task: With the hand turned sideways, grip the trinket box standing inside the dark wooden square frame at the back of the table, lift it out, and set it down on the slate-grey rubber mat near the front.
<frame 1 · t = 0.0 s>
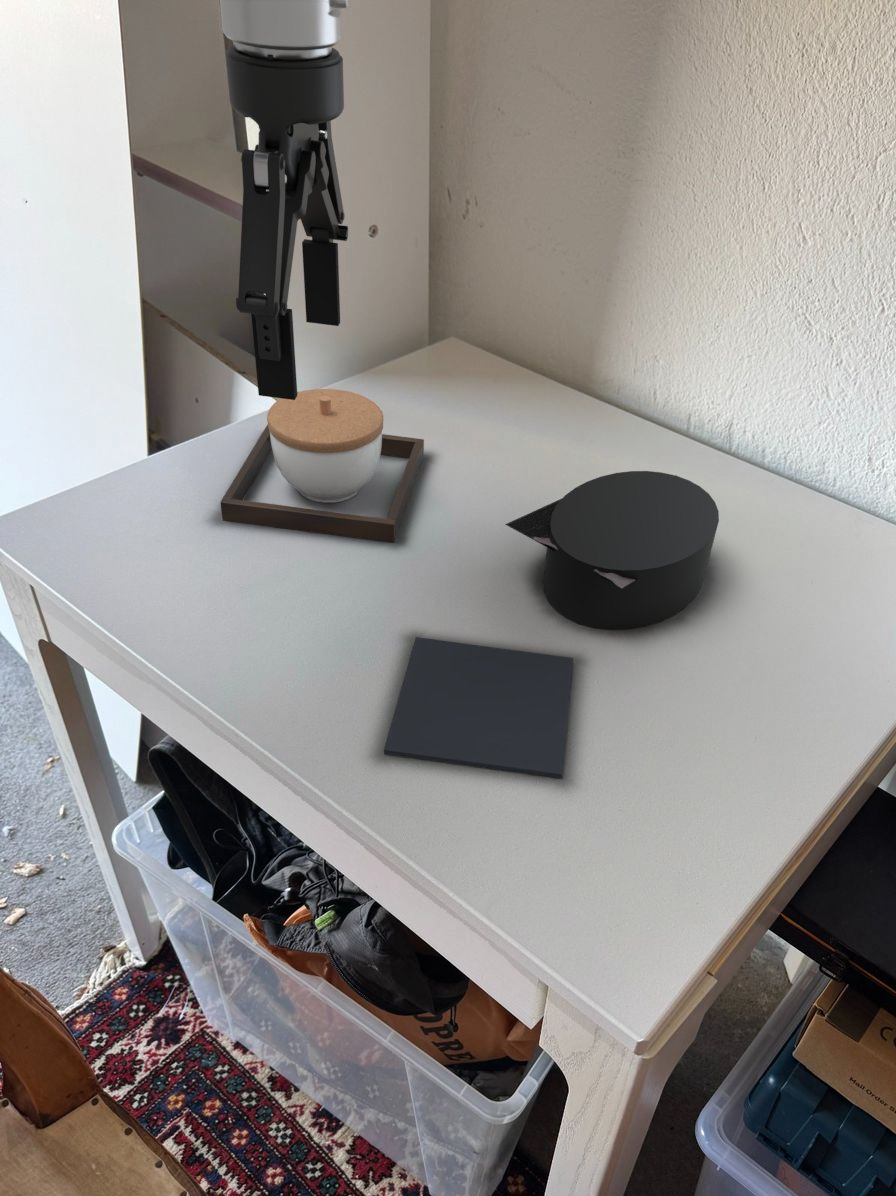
hand: (302, 357, 80), 18 cm above the table, tool pointing down, fingers open, 13 cm apart
dark wooden square frame: (328, 486, 99), on the table
tape dispenser: (619, 573, 93), on the table
trinket box: (329, 488, 100), resting in dark wooden square frame
mat: (483, 705, 78), on the table
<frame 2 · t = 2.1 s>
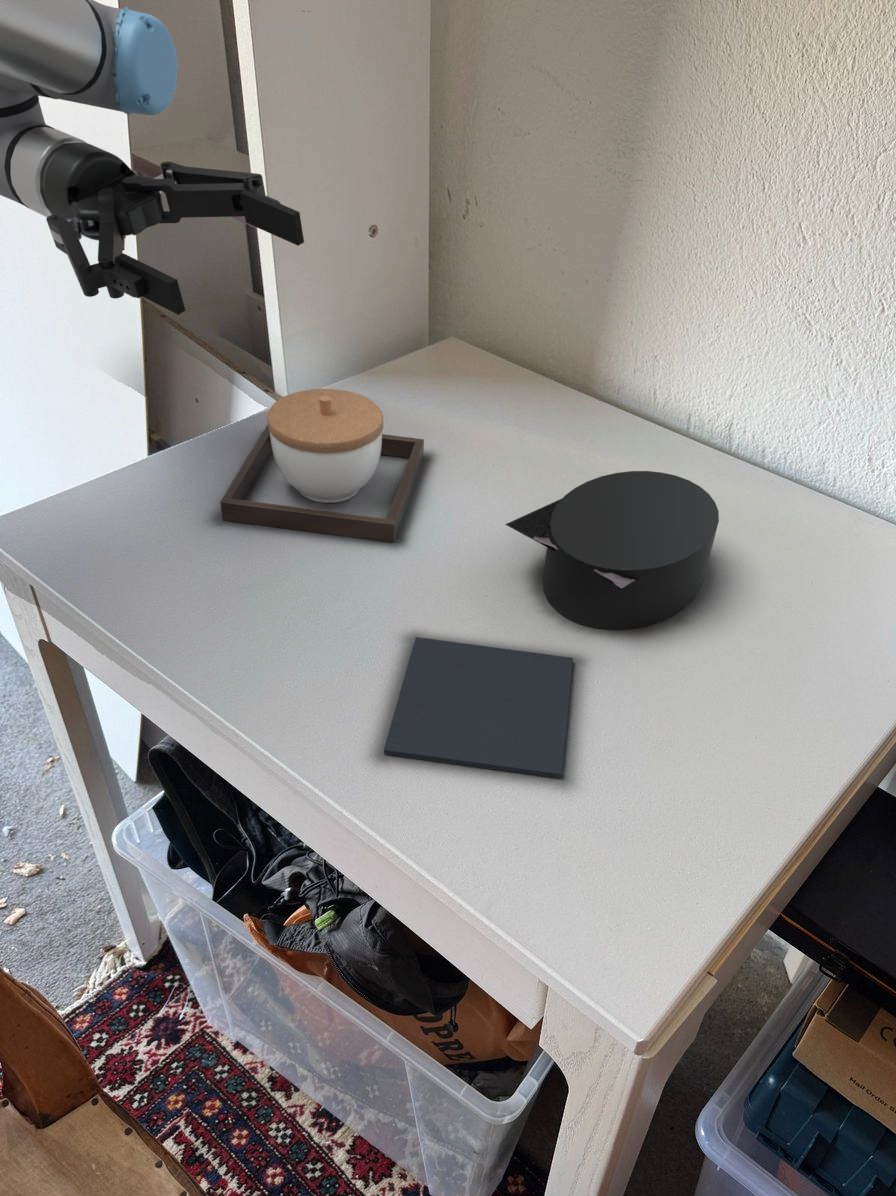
hand: (241, 262, 84), 22 cm above the table, tool horizontal, fingers open, 13 cm apart
nothing on the table moved.
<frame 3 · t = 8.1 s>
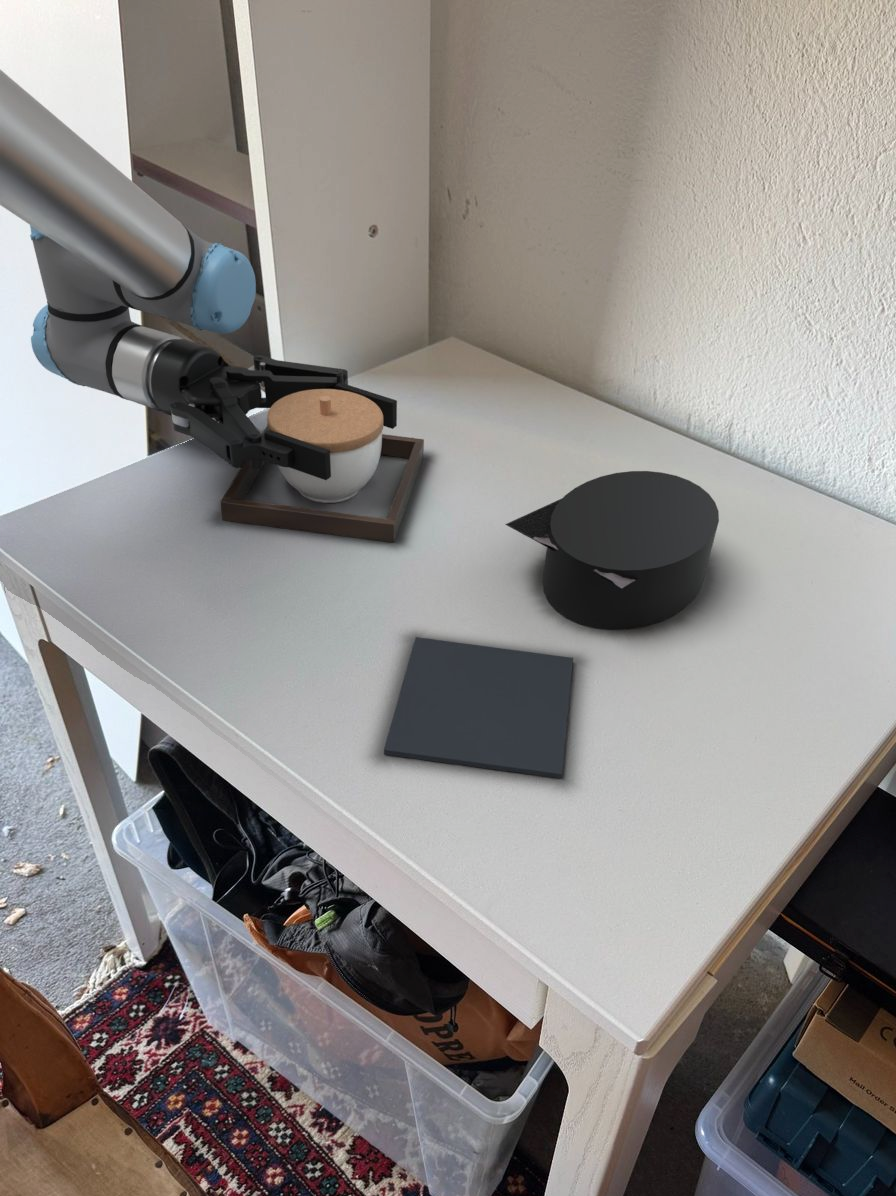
hand: (362, 439, 94), 6 cm above the table, tool horizontal, fingers closed on trinket box, 11 cm apart
trinket box: (328, 488, 100), resting in dark wooden square frame, touching gripper
everything else where it was.
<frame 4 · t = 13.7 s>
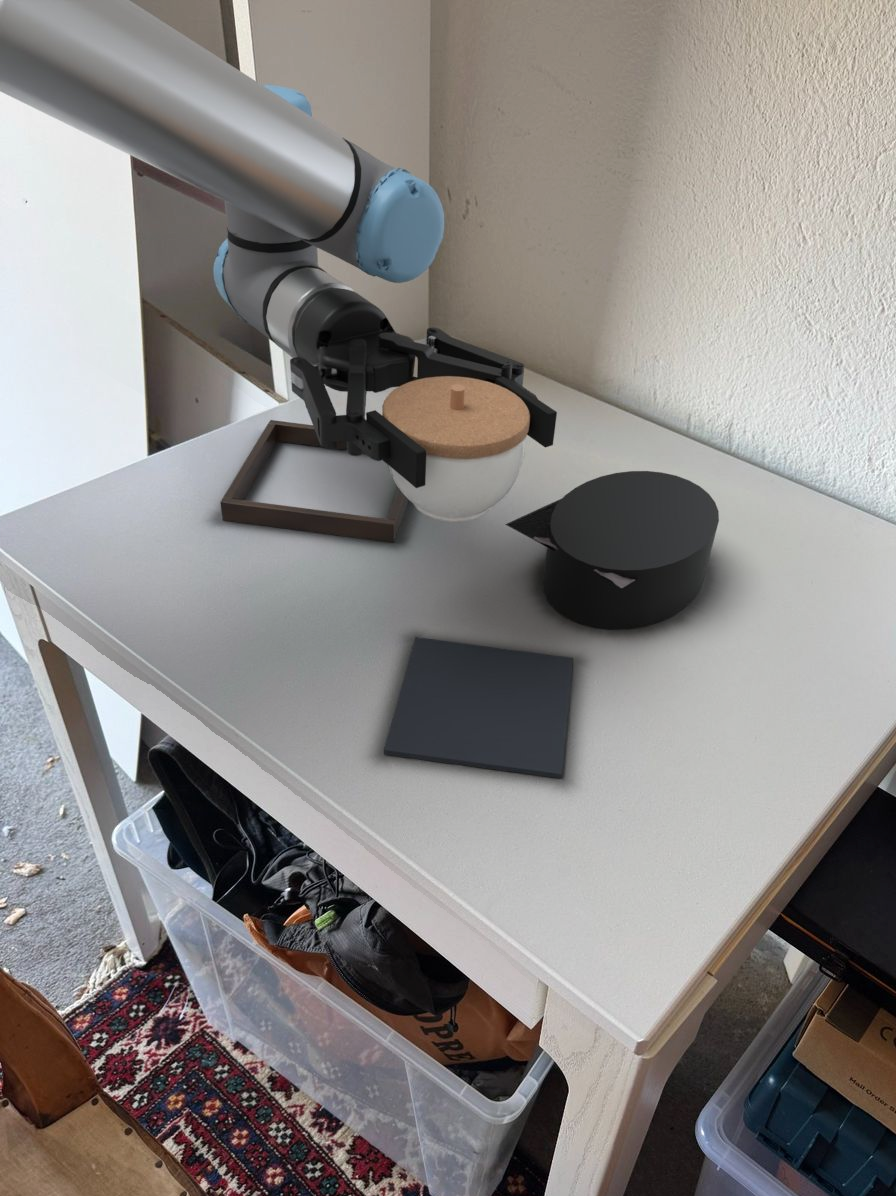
hand: (488, 449, 72), 18 cm above the table, tool horizontal, fingers closed on trinket box, 11 cm apart
trinket box: (451, 502, 78), point 11 cm above the table, touching gripper
everything else where it was.
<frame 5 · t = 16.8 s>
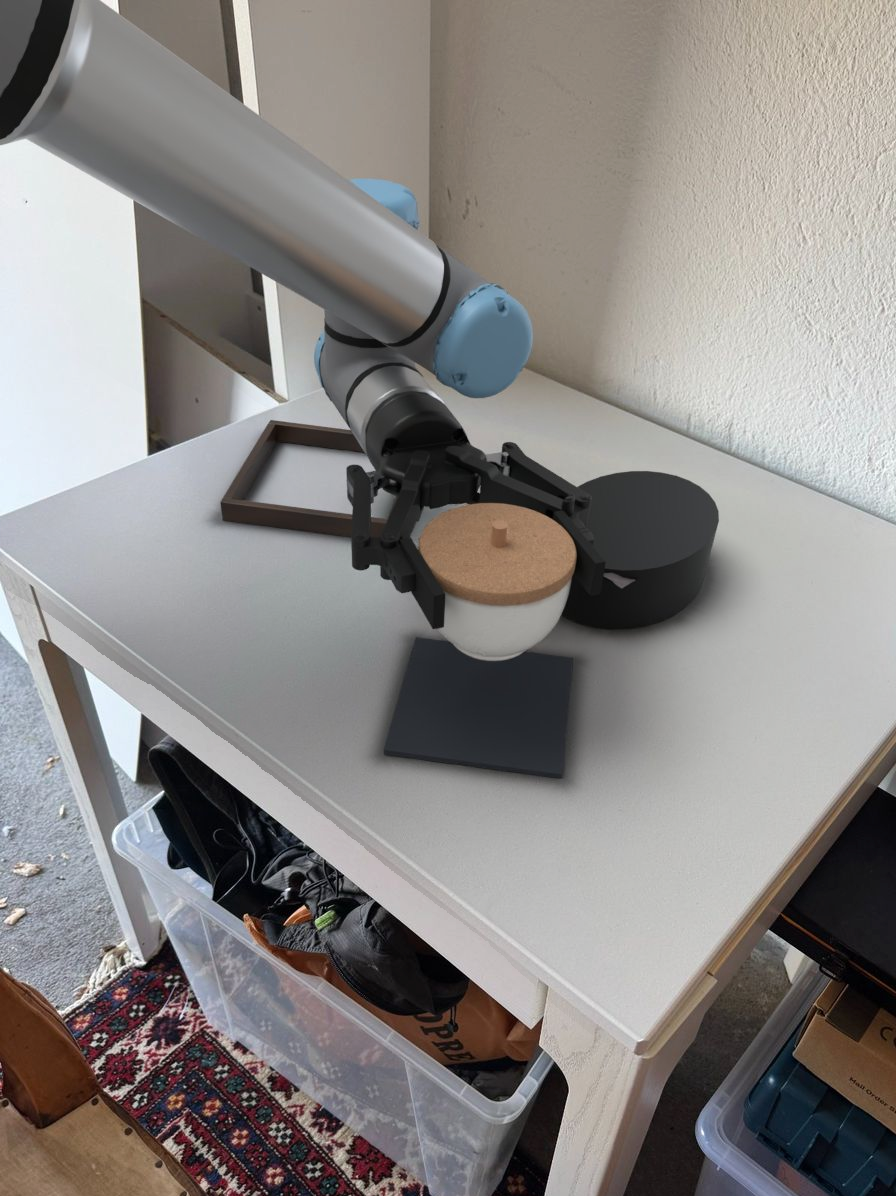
hand: (521, 595, 66), 14 cm above the table, tool horizontal, fingers closed on trinket box, 11 cm apart
trinket box: (490, 635, 73), point 7 cm above the table, touching gripper
everything else where it was.
when the fingers open (7 cm above the table, at t = 19.3 s): trinket box stays where it is, resting on mat.
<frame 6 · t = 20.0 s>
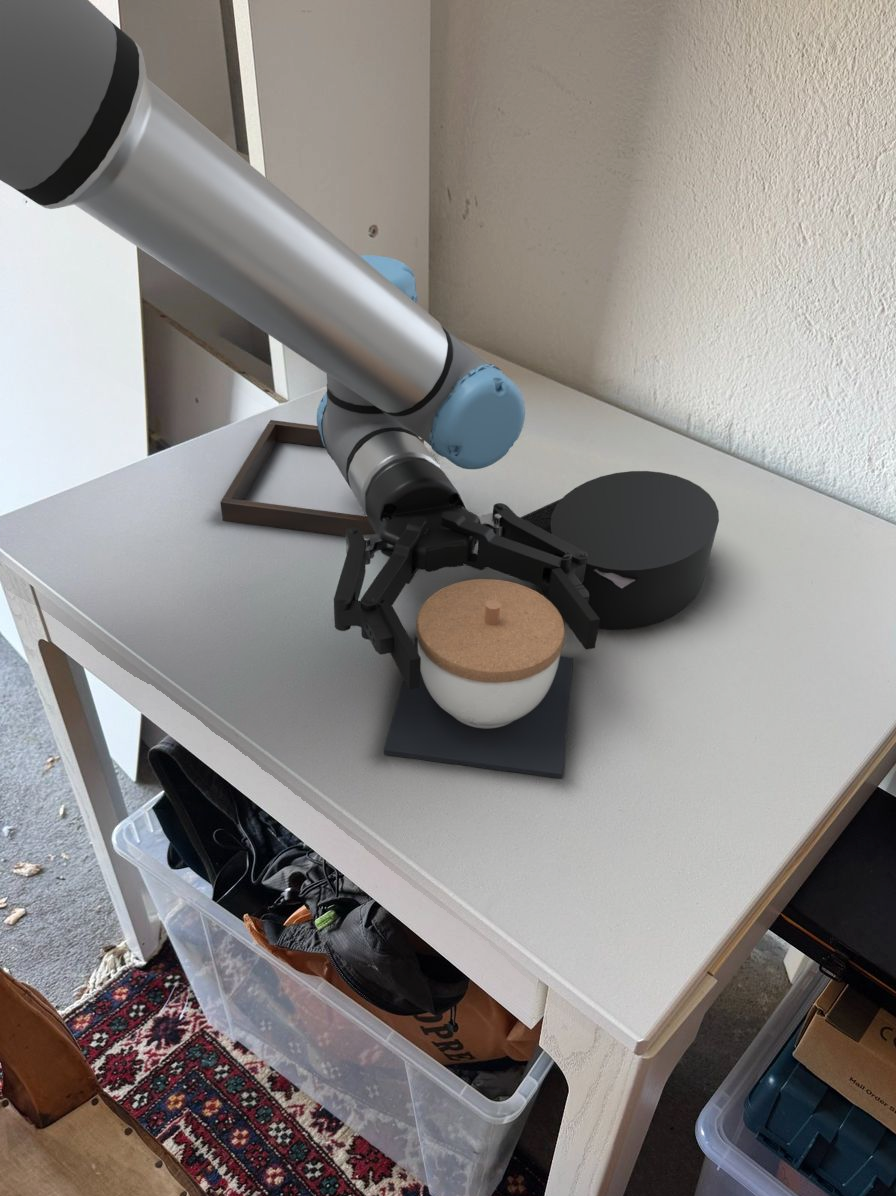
hand: (507, 654, 71), 8 cm above the table, tool horizontal, fingers open, 13 cm apart
trinket box: (484, 702, 78), resting on mat
everything else where it was.
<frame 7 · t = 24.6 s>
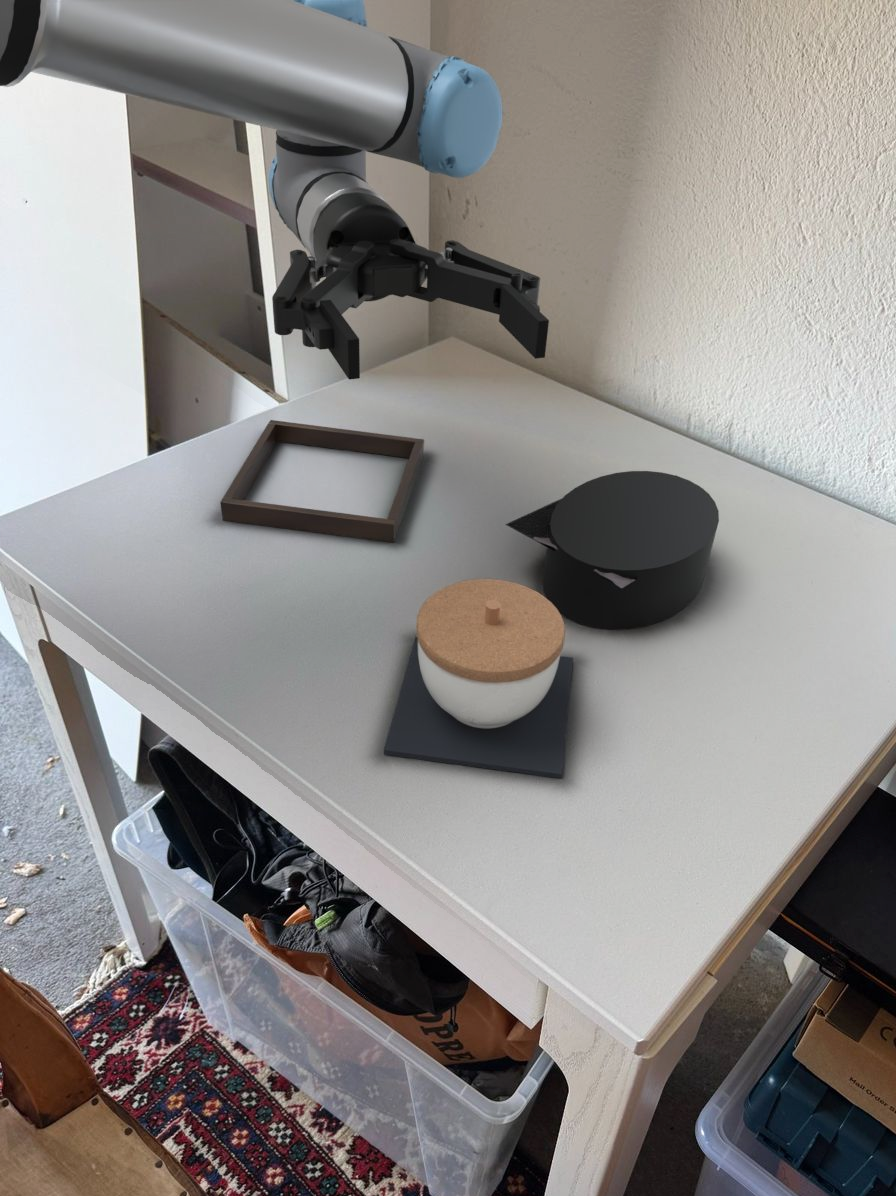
hand: (451, 349, 68), 24 cm above the table, tool horizontal, fingers open, 13 cm apart
nothing on the table moved.
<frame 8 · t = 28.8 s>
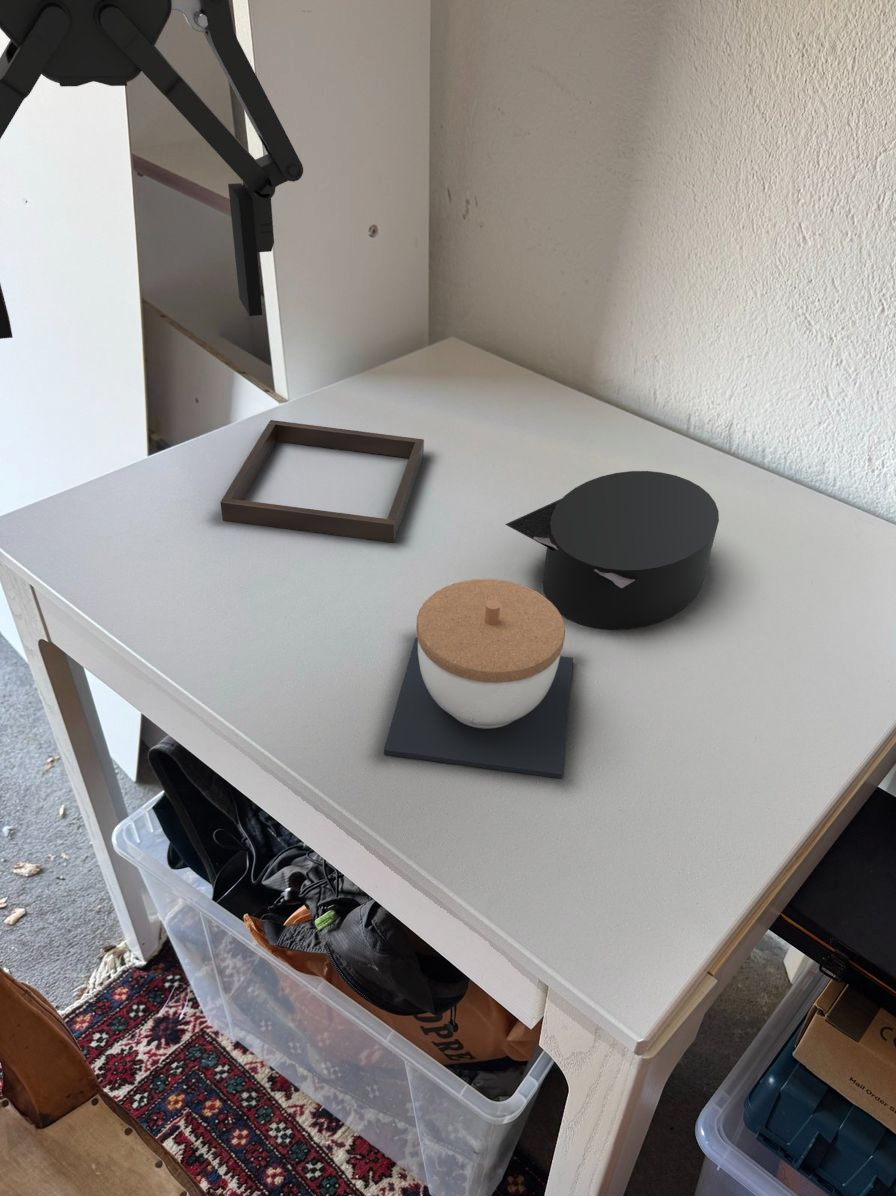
hand: (132, 317, 58), 29 cm above the table, tool pointing down, fingers open, 13 cm apart
nothing on the table moved.
at the end: trinket box inside the target area on the mat (0.0 cm from its centre), point 0.3 cm above the mat's base; trinket box tilted 0°; trinket box touching mat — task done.
